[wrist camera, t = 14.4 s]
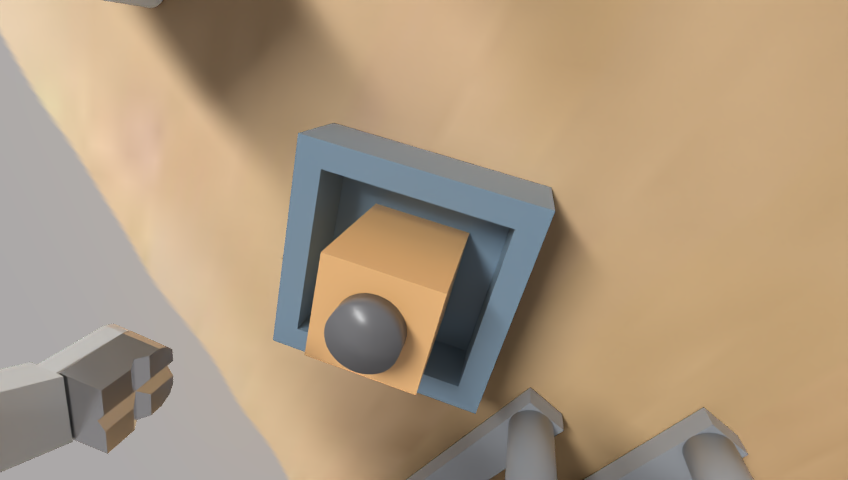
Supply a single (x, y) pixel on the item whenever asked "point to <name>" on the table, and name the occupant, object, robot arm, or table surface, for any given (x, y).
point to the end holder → (430, 199)
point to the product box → (139, 2)
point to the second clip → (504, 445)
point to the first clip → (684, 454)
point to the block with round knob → (384, 295)
